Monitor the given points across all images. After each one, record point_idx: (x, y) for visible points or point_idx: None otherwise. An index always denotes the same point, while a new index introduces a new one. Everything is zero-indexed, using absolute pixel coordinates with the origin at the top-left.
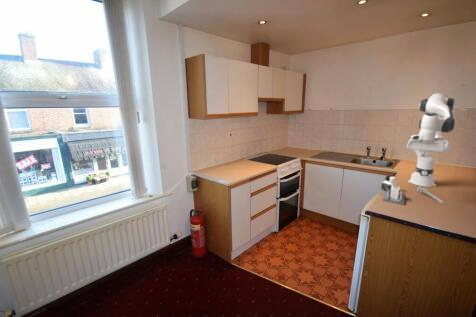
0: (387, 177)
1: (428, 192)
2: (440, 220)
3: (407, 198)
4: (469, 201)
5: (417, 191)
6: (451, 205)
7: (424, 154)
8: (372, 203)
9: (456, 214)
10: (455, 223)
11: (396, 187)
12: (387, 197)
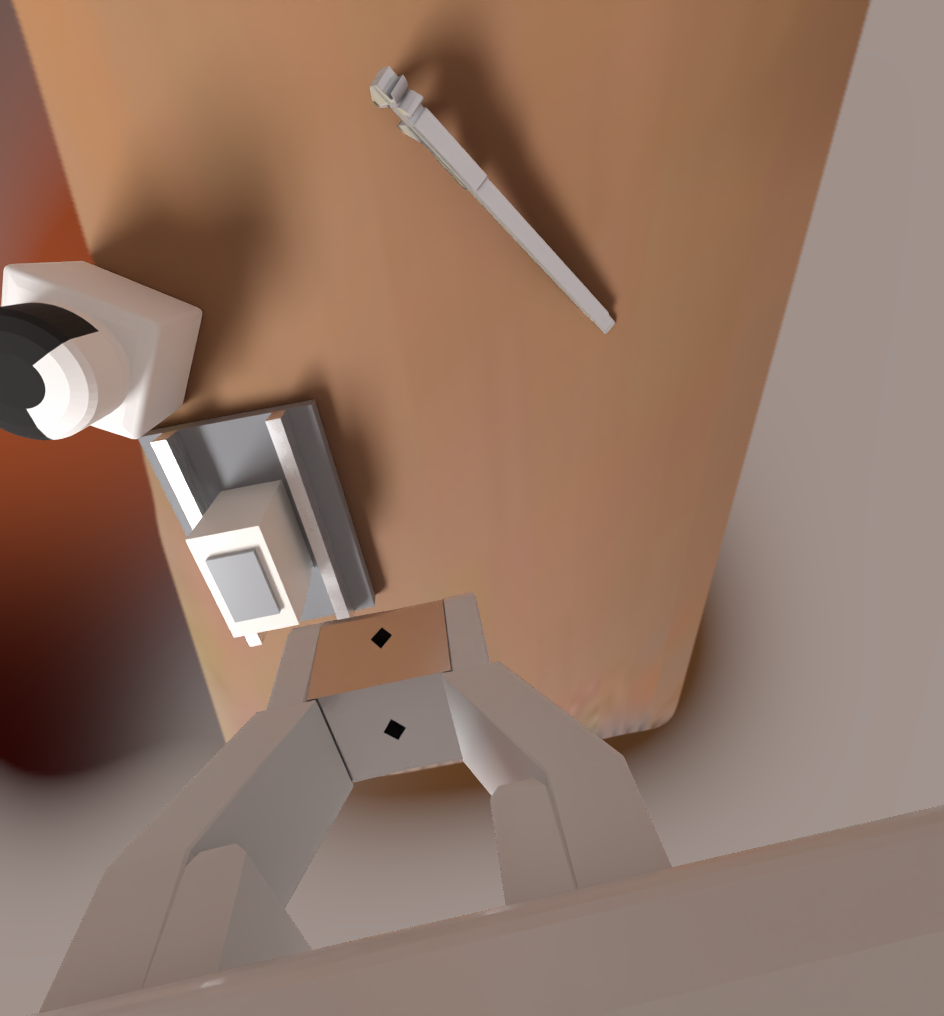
0: (8, 431)
1: (496, 202)
2: (575, 662)
3: (354, 433)
4: (843, 44)
5: (374, 102)
6: (661, 341)
7: (442, 759)
8: (219, 707)
9: (661, 517)
10: (636, 646)
11: (258, 599)
12: (258, 641)
